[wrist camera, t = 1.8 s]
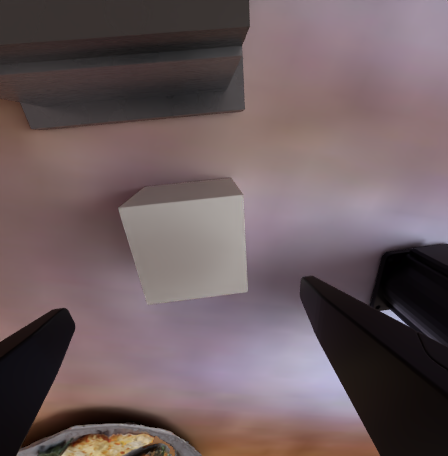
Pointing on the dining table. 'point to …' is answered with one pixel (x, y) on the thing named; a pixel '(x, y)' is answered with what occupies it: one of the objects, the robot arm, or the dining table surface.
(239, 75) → the motor housing
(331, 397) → the dining table surface
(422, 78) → the dining table surface
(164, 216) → the plain white cube
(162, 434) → the food plate
